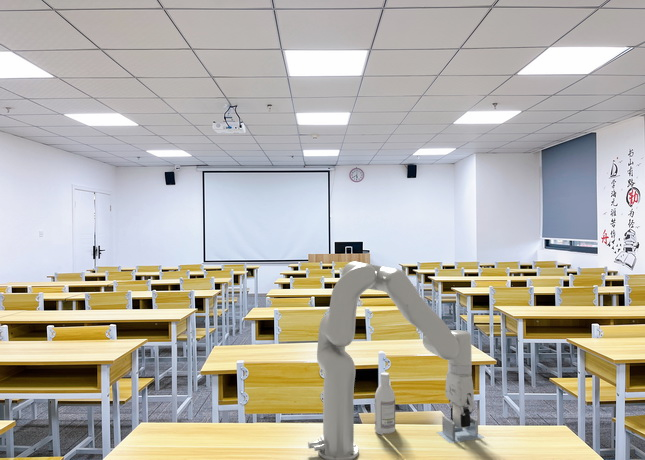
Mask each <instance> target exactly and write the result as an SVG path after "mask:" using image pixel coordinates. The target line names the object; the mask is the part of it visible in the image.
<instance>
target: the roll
mask: <svg viewBox="0 0 645 460" xmlns="http://www.w3.org/2000/svg"><path fill="white" fill-rule="evenodd" d="M466 404H467V403H466ZM464 409H465V410H466V409H467V407H464ZM461 415H462V411H461V407H460V406H458V405H456V404H455V403H453V420H452V421H453V422H454V423H455V427H457V428H467V427H461Z"/></svg>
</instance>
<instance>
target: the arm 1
mask: <svg viewBox="0 0 645 460" xmlns="http://www.w3.org/2000/svg"><path fill="white" fill-rule="evenodd" d="M441 427H442V431H443V434H445V435H446V436H447V437H448V438H450V439H451V440H452V441H455V423H454V422H453V420H451V418H448V417H447V416H446V415H444V416H442V425H441Z"/></svg>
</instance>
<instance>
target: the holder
mask: <svg viewBox="0 0 645 460" xmlns="http://www.w3.org/2000/svg"><path fill="white" fill-rule="evenodd" d="M436 433H437V434H438V435H439V436H440V437H442V439H444V440H445V441H447V442H448V443H449V444H454V443H459V442H465V441H473V440H478V439H484V438H485V437H484V436H483V435H481V434H480V433H479V432H478V437H475V435H472V434H470V433H469V432H467V431H466V430H465V428H457V427H455V441H452V440H451V439H450V438H448V437H447V436H446V435H445V434H443V430H441V431H437V432H436Z"/></svg>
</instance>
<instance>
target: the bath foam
mask: <svg viewBox="0 0 645 460" xmlns="http://www.w3.org/2000/svg"><path fill="white" fill-rule="evenodd" d="M374 430H375V433H376V434H378V435H381V436H384V435H385V434H392V433H394V432H396V394H395V391H394V390H393V388H392V386H391V384H390V373H389V372H381V373H380V384H379V386H378V387H377V388H376V391H375V394H374Z"/></svg>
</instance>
